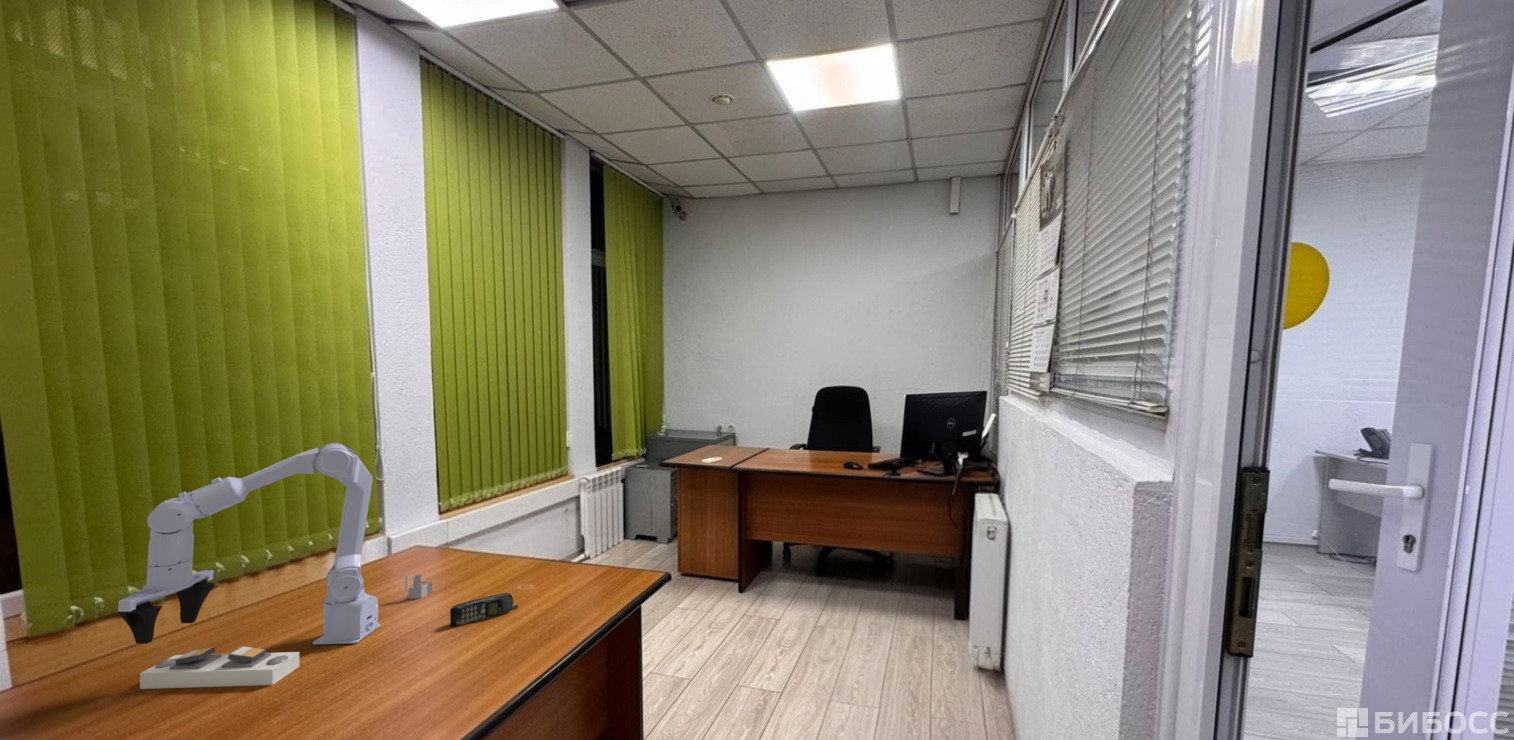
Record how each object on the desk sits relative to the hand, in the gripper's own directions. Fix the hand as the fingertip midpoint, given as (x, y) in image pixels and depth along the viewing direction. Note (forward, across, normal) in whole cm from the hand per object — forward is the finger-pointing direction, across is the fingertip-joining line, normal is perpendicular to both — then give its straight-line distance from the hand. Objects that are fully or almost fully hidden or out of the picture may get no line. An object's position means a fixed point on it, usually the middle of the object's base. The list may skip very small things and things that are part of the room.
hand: (167, 632), depth 96 cm
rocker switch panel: (+10, -2, +9) cm, 13 cm away
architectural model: (+10, -39, +21) cm, 45 cm away
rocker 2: (+6, -2, +13) cm, 15 cm away
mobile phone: (+9, -24, +49) cm, 55 cm away
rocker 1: (+6, -2, +4) cm, 7 cm away
